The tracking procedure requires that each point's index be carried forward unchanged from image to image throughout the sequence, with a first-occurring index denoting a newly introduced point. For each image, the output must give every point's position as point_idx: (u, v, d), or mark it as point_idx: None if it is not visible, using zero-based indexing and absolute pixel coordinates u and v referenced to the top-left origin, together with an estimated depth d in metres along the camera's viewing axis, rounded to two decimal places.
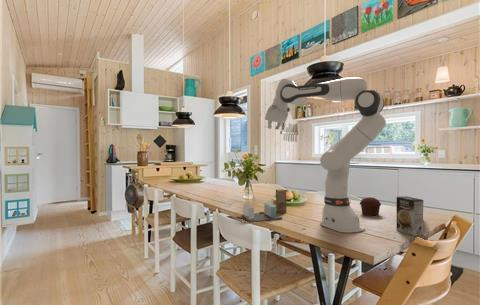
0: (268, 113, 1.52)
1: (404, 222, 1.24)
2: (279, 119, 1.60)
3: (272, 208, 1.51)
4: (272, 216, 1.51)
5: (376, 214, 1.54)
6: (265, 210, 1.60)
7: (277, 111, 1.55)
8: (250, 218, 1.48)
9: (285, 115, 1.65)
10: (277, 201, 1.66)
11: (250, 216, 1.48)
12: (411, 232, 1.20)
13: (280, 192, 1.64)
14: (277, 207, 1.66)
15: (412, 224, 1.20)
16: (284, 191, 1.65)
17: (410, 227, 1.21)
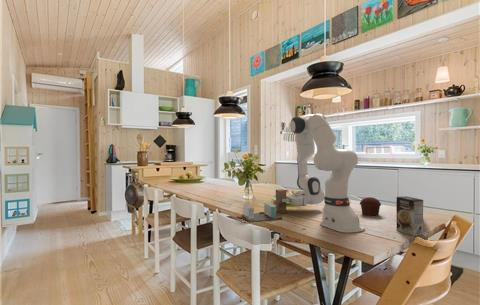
0: None
1: (404, 222, 1.24)
2: (289, 196, 1.68)
3: (272, 208, 1.51)
4: (272, 216, 1.51)
5: (376, 214, 1.54)
6: (265, 210, 1.60)
7: (293, 194, 1.73)
8: (250, 218, 1.48)
9: (298, 197, 1.62)
10: (277, 201, 1.66)
11: (250, 216, 1.48)
12: (411, 232, 1.20)
13: (280, 192, 1.64)
14: (277, 207, 1.66)
15: (412, 224, 1.20)
16: (284, 191, 1.65)
17: (410, 227, 1.21)
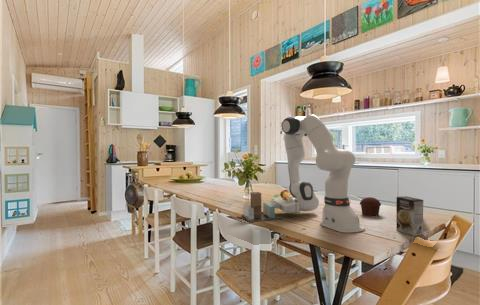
0: None
1: (404, 222, 1.24)
2: (281, 202, 1.58)
3: (271, 208, 1.51)
4: (271, 216, 1.51)
5: (376, 214, 1.54)
6: (264, 210, 1.60)
7: (285, 200, 1.63)
8: (250, 218, 1.48)
9: (291, 204, 1.52)
10: (251, 205, 1.54)
11: (250, 216, 1.48)
12: (411, 232, 1.20)
13: (254, 195, 1.52)
14: None
15: (412, 224, 1.20)
16: (259, 194, 1.53)
17: (410, 227, 1.21)
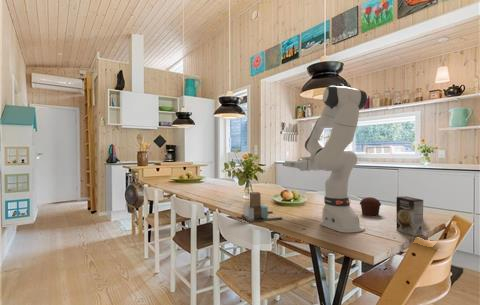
0: None
1: (404, 222, 1.24)
2: (293, 161, 1.66)
3: (264, 209, 1.50)
4: (264, 217, 1.50)
5: (376, 214, 1.54)
6: None
7: None
8: (250, 218, 1.48)
9: None
10: (251, 205, 1.54)
11: (250, 216, 1.48)
12: (411, 232, 1.20)
13: (254, 195, 1.52)
14: None
15: (412, 224, 1.20)
16: (258, 194, 1.52)
17: (410, 227, 1.21)
